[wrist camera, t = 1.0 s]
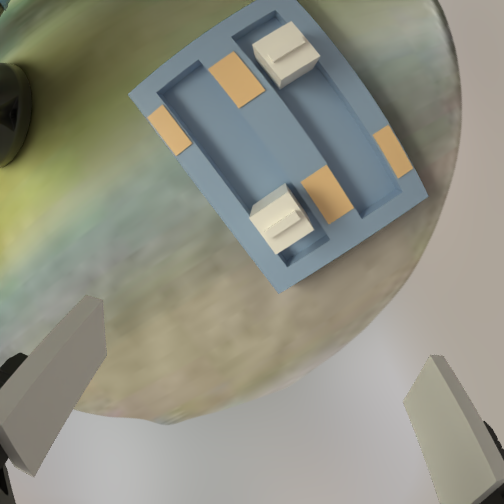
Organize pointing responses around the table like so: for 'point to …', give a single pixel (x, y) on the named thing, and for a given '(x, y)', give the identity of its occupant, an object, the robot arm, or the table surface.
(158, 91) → the switch bank
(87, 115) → the table surface
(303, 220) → the tab
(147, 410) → the table surface
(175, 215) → the table surface
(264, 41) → the tab
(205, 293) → the table surface
